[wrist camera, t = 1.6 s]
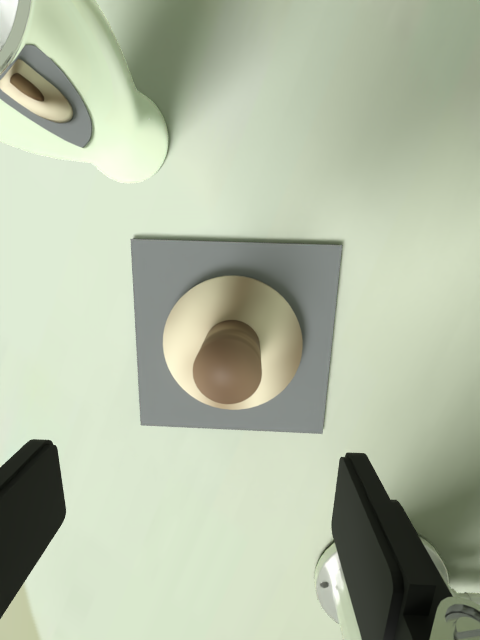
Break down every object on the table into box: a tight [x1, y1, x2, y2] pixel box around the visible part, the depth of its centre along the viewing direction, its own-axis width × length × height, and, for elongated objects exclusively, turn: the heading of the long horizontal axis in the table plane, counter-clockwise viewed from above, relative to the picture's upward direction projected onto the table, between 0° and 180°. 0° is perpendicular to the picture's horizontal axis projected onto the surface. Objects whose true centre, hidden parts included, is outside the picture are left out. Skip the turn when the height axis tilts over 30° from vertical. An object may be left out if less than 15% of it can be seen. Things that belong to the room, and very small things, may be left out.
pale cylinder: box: [0, 0, 169, 184], centre depth 15 cm, size 7×7×15 cm
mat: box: [131, 239, 342, 434], centre depth 26 cm, size 16×16×1 cm
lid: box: [163, 275, 303, 410], centre depth 23 cm, size 11×11×6 cm
